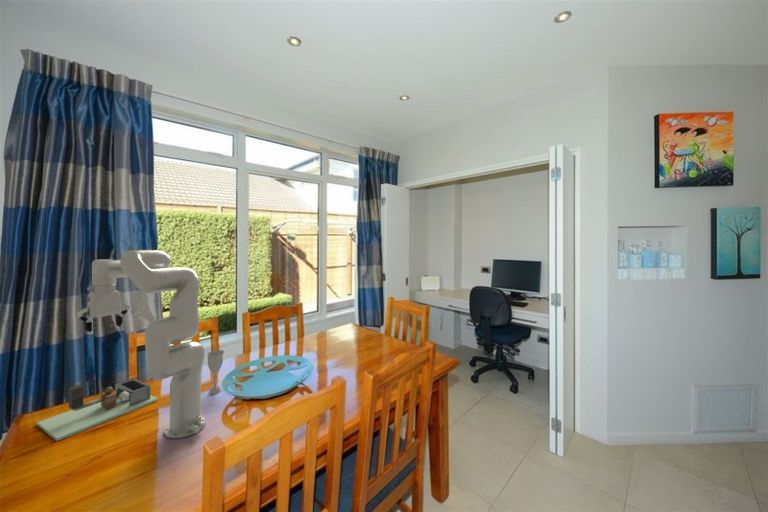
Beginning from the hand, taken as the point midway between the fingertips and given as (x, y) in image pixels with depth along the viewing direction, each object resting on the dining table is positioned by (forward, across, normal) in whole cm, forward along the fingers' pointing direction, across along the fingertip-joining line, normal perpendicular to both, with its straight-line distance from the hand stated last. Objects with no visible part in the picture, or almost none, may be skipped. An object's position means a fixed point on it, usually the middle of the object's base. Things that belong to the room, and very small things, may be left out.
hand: (104, 328), depth 126 cm
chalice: (+31, +27, -34) cm, 53 cm away
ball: (+27, +2, -12) cm, 30 cm away
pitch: (+30, -5, -12) cm, 33 cm away
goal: (+30, +5, -12) cm, 33 cm away
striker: (+29, -8, -12) cm, 32 cm away
